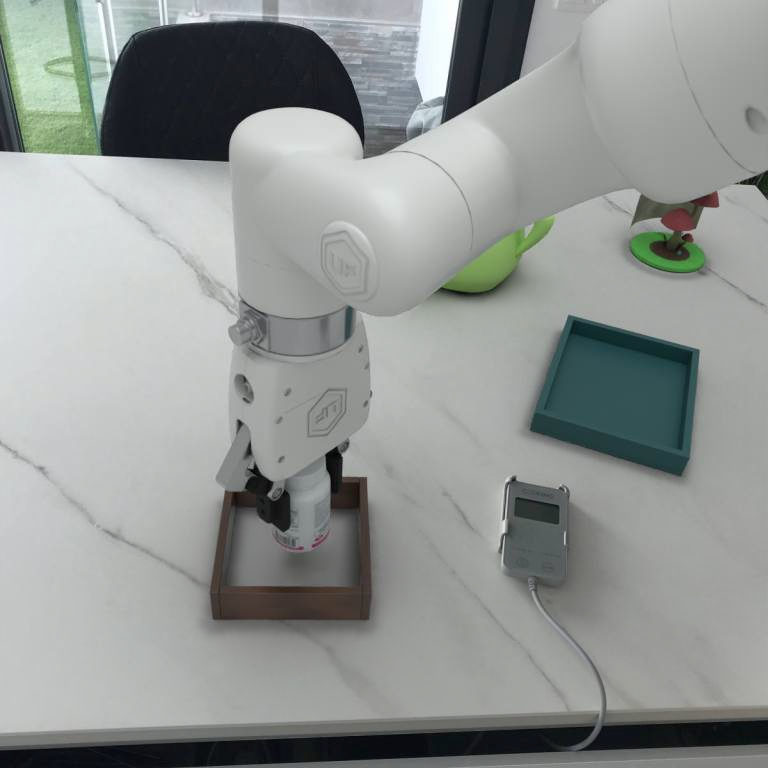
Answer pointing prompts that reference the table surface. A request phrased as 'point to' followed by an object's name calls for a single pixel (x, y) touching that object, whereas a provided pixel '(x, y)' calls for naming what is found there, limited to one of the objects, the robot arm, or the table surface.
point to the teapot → (498, 260)
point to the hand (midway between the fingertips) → (300, 500)
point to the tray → (621, 394)
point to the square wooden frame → (293, 598)
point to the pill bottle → (307, 509)
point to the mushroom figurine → (666, 247)
